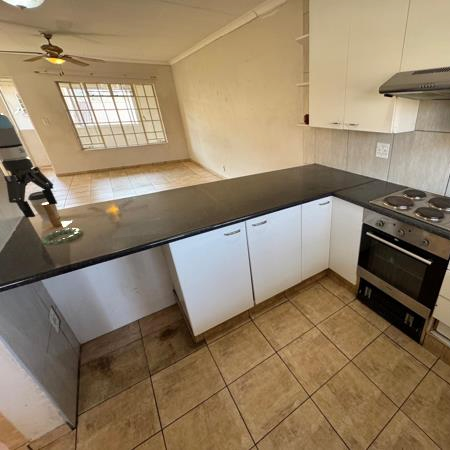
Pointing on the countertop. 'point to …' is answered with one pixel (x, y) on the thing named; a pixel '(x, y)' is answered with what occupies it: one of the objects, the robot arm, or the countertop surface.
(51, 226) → the stand
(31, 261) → the countertop surface
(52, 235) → the hang ring
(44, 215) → the coffee cup
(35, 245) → the countertop surface
